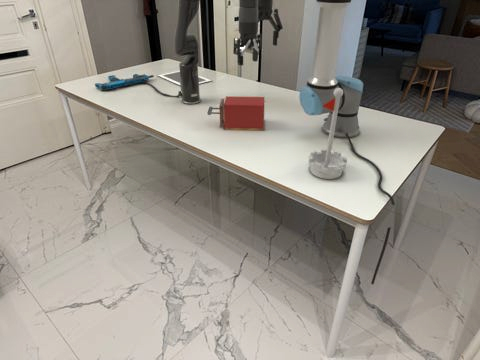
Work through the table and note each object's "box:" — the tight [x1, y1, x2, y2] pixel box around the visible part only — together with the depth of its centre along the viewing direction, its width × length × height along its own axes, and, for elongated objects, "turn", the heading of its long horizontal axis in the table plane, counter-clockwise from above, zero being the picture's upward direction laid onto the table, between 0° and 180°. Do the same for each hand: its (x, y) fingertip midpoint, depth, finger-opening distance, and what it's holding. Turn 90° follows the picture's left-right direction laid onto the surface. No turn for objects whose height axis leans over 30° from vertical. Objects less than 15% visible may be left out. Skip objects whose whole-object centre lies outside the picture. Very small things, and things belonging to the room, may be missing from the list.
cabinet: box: [224, 96, 265, 131], centre depth 152 cm, size 17×11×11 cm, turn 87°
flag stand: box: [307, 88, 348, 180], centre depth 113 cm, size 13×13×30 cm
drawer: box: [207, 98, 225, 128], centre depth 153 cm, size 22×10×10 cm, turn 87°
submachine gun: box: [94, 73, 155, 91], centre depth 208 cm, size 34×4×25 cm
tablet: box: [157, 70, 213, 87], centre depth 215 cm, size 32×20×1 cm, turn 41°
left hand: (247, 63), depth 138 cm, fingers open, 8 cm apart
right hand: (263, 46), depth 167 cm, fingers open, 13 cm apart
